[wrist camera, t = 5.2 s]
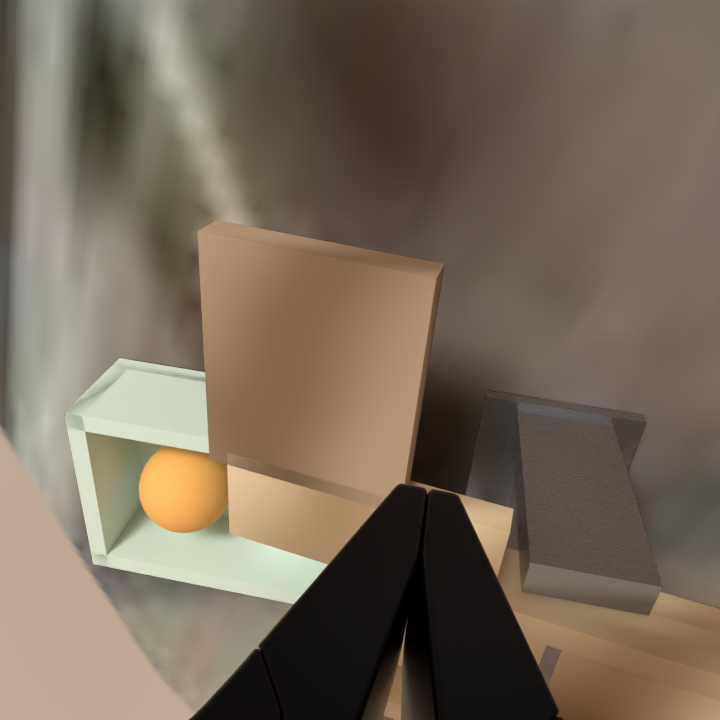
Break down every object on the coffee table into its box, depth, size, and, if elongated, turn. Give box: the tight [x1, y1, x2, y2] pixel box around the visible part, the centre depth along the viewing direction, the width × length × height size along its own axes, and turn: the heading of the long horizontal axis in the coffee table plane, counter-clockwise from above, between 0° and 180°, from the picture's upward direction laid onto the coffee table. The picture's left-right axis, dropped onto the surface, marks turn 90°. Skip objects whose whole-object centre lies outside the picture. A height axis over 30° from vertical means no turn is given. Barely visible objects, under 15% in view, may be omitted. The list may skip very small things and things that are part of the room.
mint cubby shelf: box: [64, 358, 328, 604], centre depth 22 cm, size 10×7×4 cm
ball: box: [139, 446, 229, 533], centre depth 22 cm, size 3×3×3 cm
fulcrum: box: [464, 390, 663, 616], centre depth 19 cm, size 13×9×7 cm
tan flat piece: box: [198, 220, 720, 720], centre depth 15 cm, size 20×14×3 cm
